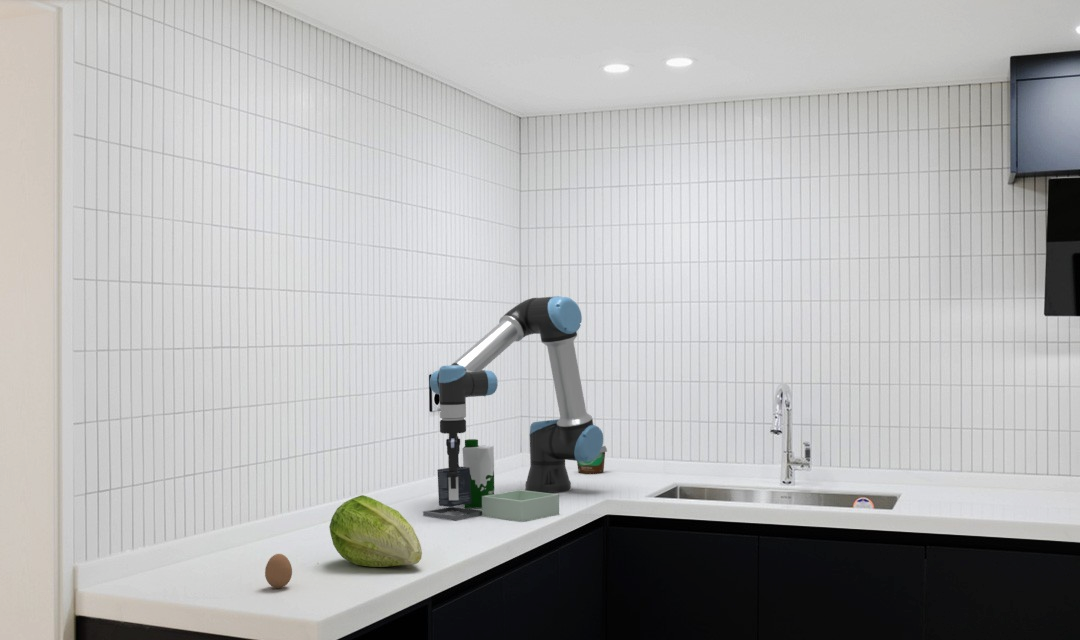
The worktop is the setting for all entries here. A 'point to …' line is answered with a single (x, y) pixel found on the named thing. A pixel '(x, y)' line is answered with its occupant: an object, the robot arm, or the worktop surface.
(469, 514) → the collar
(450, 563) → the worktop surface
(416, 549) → the lettuce
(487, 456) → the milk carton
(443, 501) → the box
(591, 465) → the food container
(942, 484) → the worktop surface
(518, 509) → the bin
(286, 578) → the egg
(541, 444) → the robot arm
